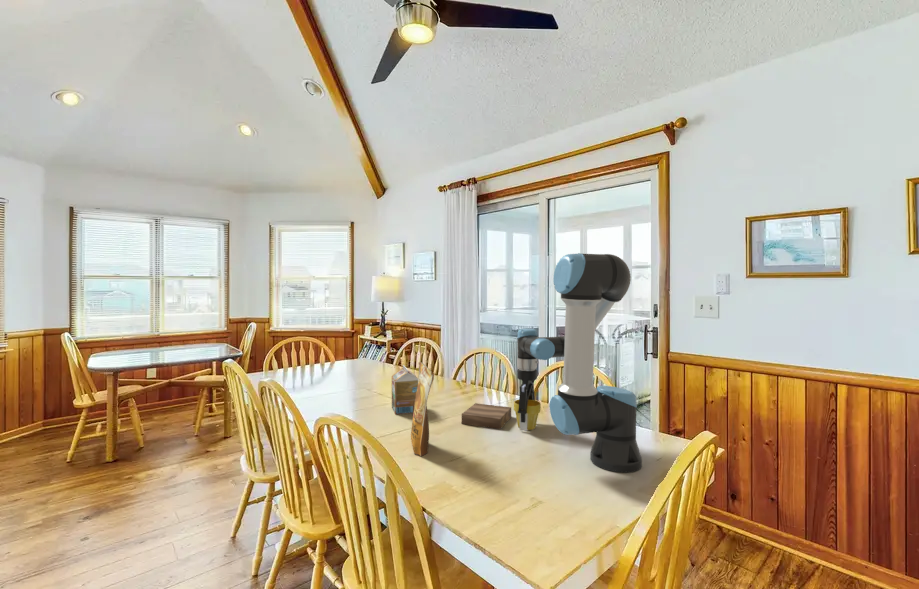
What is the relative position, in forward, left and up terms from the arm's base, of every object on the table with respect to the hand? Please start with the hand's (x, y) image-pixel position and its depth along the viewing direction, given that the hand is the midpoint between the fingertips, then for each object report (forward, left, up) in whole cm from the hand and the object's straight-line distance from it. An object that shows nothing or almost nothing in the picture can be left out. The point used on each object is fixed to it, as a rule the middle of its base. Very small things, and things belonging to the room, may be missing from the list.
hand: (526, 425), depth 164 cm
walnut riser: (+2, +17, -1) cm, 17 cm away
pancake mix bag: (-33, +29, -1) cm, 44 cm away
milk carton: (+2, +55, -1) cm, 55 cm away
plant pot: (0, 0, -1) cm, 1 cm away
